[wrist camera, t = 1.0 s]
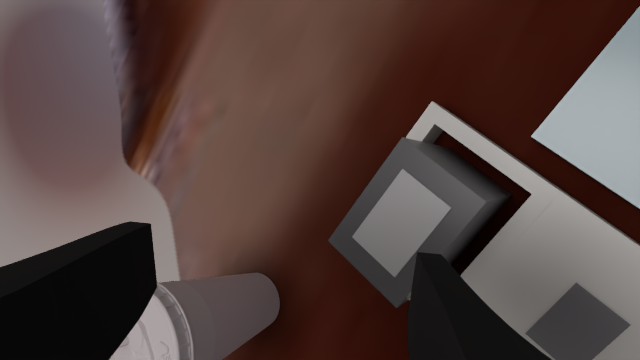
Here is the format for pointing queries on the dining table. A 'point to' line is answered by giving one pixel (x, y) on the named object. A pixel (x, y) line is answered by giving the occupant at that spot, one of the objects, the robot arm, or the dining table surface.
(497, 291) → the power strip
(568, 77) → the dining table surface
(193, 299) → the smoothie
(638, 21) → the tile
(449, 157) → the block
